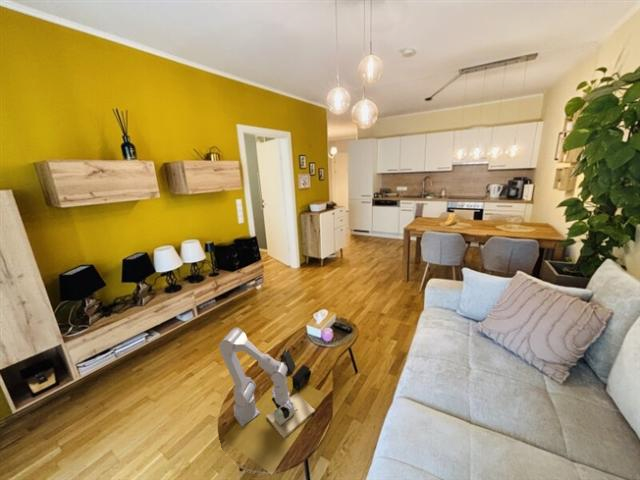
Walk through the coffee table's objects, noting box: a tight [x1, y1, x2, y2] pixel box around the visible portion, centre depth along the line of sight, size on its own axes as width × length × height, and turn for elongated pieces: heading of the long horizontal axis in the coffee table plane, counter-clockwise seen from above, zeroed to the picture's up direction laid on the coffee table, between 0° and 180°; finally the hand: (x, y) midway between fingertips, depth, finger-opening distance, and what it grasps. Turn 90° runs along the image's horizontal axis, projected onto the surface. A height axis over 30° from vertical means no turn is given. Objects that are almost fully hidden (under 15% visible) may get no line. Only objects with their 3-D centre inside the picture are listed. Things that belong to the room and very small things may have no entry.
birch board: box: [265, 392, 316, 439], centre depth 122 cm, size 18×14×1 cm
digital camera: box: [291, 364, 312, 392], centre depth 139 cm, size 10×5×7 cm, turn 151°
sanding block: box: [274, 406, 294, 426], centre depth 119 cm, size 8×4×5 cm, turn 133°
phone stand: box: [280, 347, 297, 375], centre depth 149 cm, size 9×6×12 cm, turn 74°
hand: (283, 413), depth 119 cm, fingers closed on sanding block, 4 cm apart
